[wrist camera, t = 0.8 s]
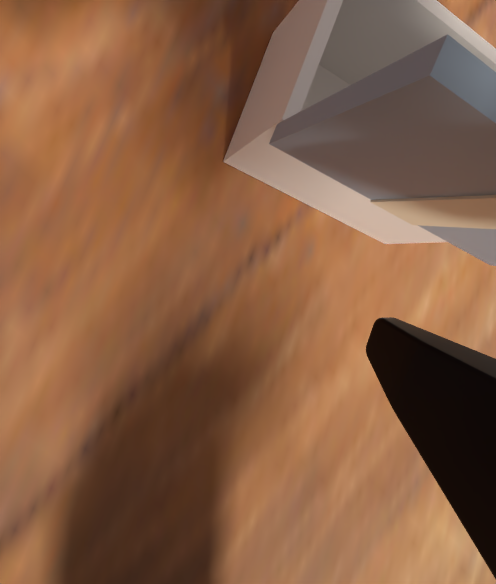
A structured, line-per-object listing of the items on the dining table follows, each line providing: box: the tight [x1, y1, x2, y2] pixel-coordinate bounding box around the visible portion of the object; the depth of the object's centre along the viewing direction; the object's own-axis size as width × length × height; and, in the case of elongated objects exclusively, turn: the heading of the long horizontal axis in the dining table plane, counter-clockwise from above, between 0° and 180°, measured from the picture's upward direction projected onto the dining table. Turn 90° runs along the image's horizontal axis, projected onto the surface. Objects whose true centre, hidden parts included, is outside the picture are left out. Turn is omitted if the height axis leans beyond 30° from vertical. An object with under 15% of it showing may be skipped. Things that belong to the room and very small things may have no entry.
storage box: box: [223, 0, 496, 244], centre depth 22 cm, size 8×12×8 cm, turn 69°
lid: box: [269, 34, 496, 266], centre depth 14 cm, size 9×12×1 cm
